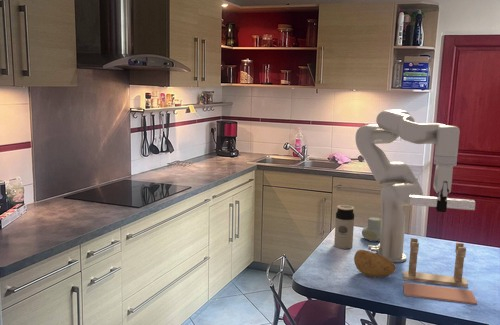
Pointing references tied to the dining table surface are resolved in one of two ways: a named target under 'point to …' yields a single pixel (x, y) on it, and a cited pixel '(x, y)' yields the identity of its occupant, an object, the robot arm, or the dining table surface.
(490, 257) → the dining table surface
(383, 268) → the potato
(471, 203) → the steel bar
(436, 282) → the hook stand
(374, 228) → the air freshener
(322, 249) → the dining table surface
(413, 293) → the terracotta mat
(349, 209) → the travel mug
